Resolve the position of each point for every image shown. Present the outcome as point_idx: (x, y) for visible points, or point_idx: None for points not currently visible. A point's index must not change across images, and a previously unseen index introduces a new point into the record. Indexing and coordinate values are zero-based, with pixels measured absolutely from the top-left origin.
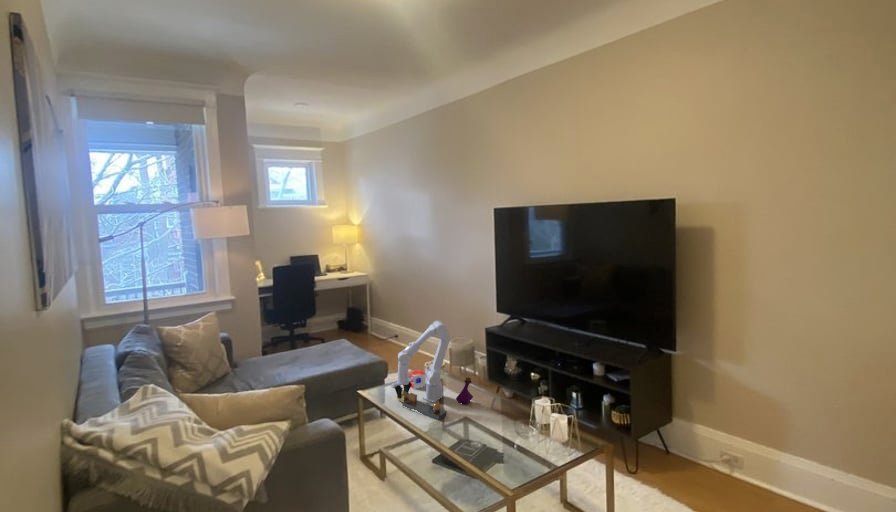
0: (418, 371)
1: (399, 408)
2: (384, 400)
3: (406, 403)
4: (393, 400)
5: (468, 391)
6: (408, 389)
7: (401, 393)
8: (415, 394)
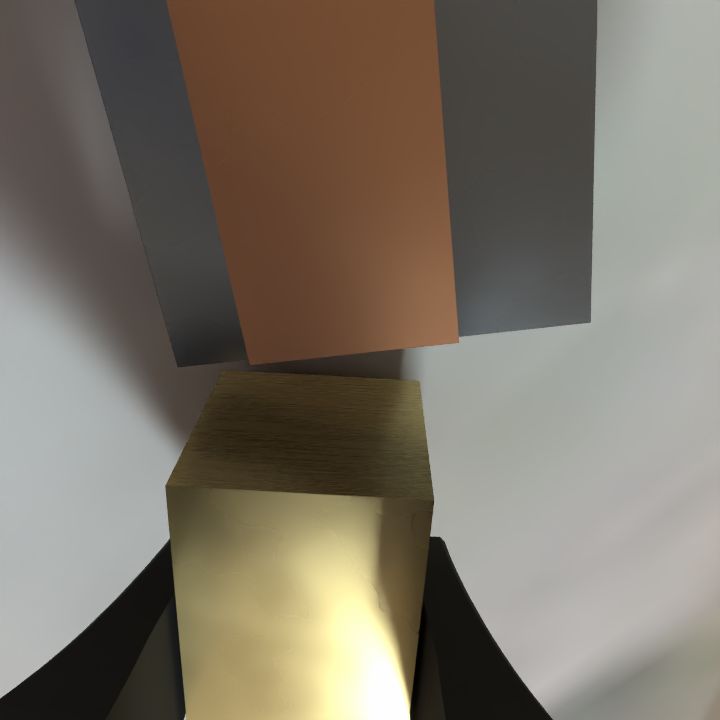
0: None
1: (680, 264)
2: (577, 698)
3: (572, 183)
4: None
5: None
6: (92, 673)
7: (372, 652)
8: (187, 6)
